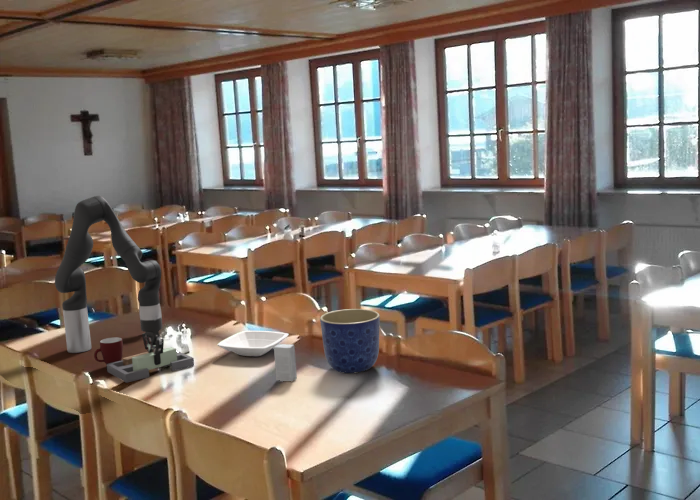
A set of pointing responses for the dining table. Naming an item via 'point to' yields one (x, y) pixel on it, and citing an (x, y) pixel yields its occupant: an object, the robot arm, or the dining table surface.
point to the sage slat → (148, 359)
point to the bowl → (252, 342)
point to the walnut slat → (129, 359)
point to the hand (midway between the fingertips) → (155, 363)
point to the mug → (110, 350)
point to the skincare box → (285, 362)
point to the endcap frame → (129, 375)
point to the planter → (351, 339)
